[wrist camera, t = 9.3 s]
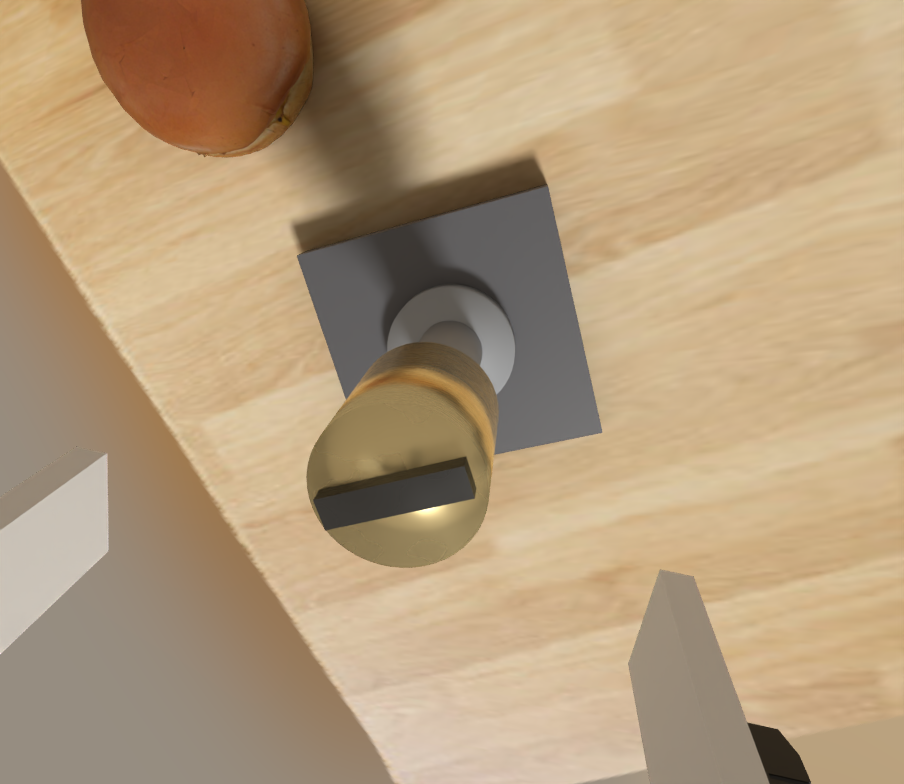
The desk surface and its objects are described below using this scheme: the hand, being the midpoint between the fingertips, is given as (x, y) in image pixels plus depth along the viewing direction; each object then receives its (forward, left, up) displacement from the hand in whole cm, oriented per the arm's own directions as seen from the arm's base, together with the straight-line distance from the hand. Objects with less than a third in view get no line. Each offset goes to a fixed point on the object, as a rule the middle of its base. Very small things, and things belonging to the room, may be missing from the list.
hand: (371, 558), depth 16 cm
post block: (0, 0, -19) cm, 19 cm away
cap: (0, 0, -9) cm, 9 cm away
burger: (+7, -16, -20) cm, 26 cm away
